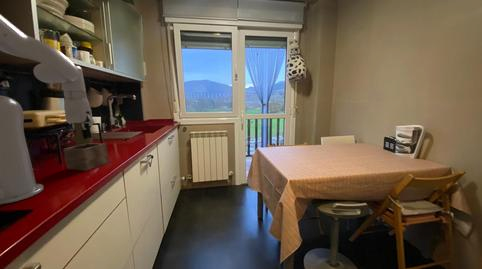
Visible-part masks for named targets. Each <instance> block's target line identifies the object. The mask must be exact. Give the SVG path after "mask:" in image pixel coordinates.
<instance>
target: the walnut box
mask: <svg viewBox="0 0 482 269" xmlns="http://www.w3.org/2000/svg"><path fill="white" fill-rule="evenodd" d="M62 151H63V154H64V160H65V164H66V169H67V170H74V171H75V170H76V171H86V172H87V171H90V170H92V169H94V168H95V169H96V168H97V167H100V166H103V165H106V164H108V163H110V161H109V155H108V154H109V153H108V149H107V143H99V142H98V143H97V142H95V143H94V142H92V143H88V144H80V145H77V144H76V145H74V146H71V147H69V146H68V147H66V148H63V150H62Z"/></svg>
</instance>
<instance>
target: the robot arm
mask: <svg viewBox="0 0 482 269" xmlns="http://www.w3.org/2000/svg"><path fill="white" fill-rule="evenodd" d="M0 52H2V53H5V54H8V55H12V56H15V57H19V58H23V59H27V60H28V59H29V60H31V61H35V62H38V63H39V64H37V65H35V66H34V67H33V74H34V77H35V78H36V79H37V80H39V81H40V82H43V83H46V84H59V83H61V85H62V91H63V95H64V101H63V104H64V105H63V107H64V109H63V110H64V115H65V122H66V123H68V124H69V125H70V127H72V130H73V132H74V137H75V139H76V126H75V125H74V124H73V123H81V124H82V127H83V130H82V133H83V138H84V139H87V138H88V137H89V138H92V133H91V129H92V126H93V124H94V123H95V121H94V119H93V114H92V108H91V105H90V102H89V99H88V96H87V91H86V84H85V79H84V74H83V68H82V67H81V66H80V65H76V64H75V63H74V62H73V61H72V60H71V59H70V58H68V57H67V55H65V54H64V53H63V52H62V51H60V50H58V49H57V48H55V47H53V46H51V45H50V44H47V43H45V42H43V41H41V40H38V39H37V38H35V37H32V36H29V35H28V34H26V33H25V32H23V31H22V30H21V29H19V28H18V27H17V26H15V25H14V24H13V23H12V22H11V21H9V20H8V19H7V18H6V17H4V16H3V15H2V14H1V13H0ZM24 116H25V115H24V110H23V108H22V106H21V104H20V103H19V102H18V101H16V100H15V99H14V98H11V97H8V96H6V95H5V96H4V95H0V205H4V204H11V203H15V202H19V201H22V200H25V199H28V198H31V197H33V196H35V195H38V194H39V193H41V192H42V191H43V190H44V185H43V184H41V183H37V182H36V178H35V173H34V170H33V166H32V162H31V157H30V153H29V149H28V145H27V142H26V136H25V131H24V120H25V119H24ZM86 120H87V122H84V121H86ZM86 123H87V124H86ZM85 124H86V125H85Z"/></svg>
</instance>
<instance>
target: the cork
mask: <svg viewBox="0 0 482 269" xmlns="http://www.w3.org/2000/svg"><path fill="white" fill-rule="evenodd" d="M84 122H87V120H86V121H84ZM73 124H74V125H75V126H76V138H75V145H76V146H77V145H81V144H88V143H94V142H93V138H92V137H91V138H89V137H88V138H87V139H84V138H83V133H82V130H83V127H82V124H81V123H73ZM86 124H87V123H86ZM86 124H85V125H86Z"/></svg>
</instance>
